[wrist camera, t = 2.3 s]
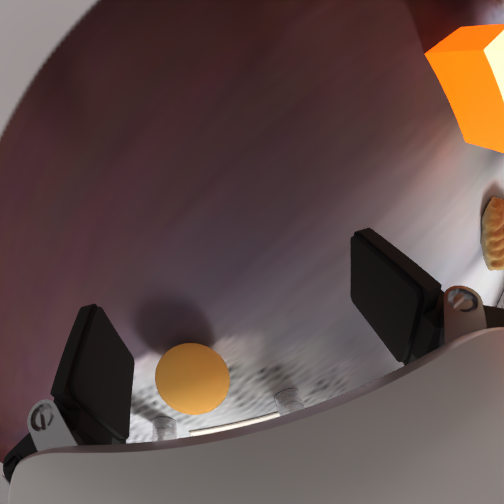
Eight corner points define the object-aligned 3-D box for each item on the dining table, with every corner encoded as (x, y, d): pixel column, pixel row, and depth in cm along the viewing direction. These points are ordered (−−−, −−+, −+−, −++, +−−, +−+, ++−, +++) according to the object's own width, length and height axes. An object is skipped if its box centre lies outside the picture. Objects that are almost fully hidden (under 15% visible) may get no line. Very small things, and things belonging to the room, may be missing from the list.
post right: (299, 398, 27) (323, 458, 20) (276, 405, 27) (296, 467, 20) (297, 385, 26) (323, 450, 19) (272, 393, 26) (295, 460, 19)
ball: (232, 366, 23) (243, 418, 18) (172, 379, 22) (173, 431, 18) (214, 320, 20) (222, 378, 15) (145, 336, 20) (139, 393, 15)
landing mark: (298, 443, 34) (298, 444, 33) (219, 462, 33) (219, 463, 32) (291, 408, 28) (291, 409, 28) (189, 431, 27) (189, 433, 27)
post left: (179, 426, 26) (185, 488, 19) (159, 428, 26) (161, 489, 19) (170, 415, 25) (174, 482, 18) (148, 418, 25) (148, 483, 18)
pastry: (468, 223, 22) (495, 238, 19) (496, 179, 21) (522, 190, 17) (483, 268, 26) (503, 283, 23) (508, 229, 25) (528, 241, 21)
